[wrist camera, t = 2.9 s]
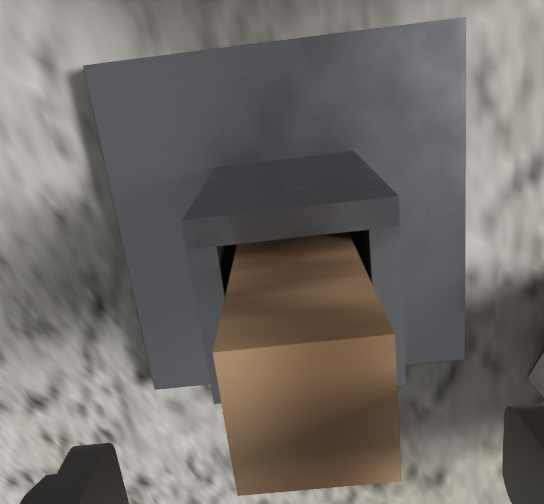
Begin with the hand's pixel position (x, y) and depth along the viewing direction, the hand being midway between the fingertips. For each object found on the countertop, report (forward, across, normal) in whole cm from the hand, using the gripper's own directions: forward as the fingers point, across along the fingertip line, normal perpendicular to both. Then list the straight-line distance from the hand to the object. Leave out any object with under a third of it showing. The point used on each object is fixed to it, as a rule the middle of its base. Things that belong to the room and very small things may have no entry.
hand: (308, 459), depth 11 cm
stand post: (+17, 0, 0) cm, 17 cm away
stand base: (+19, 0, 0) cm, 19 cm away
